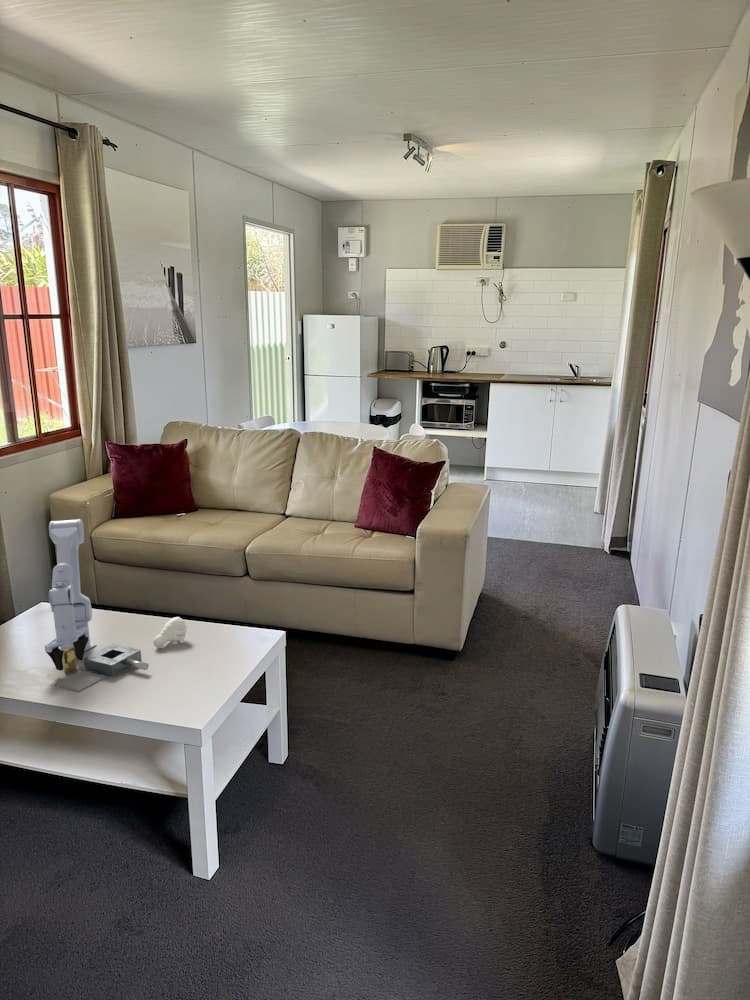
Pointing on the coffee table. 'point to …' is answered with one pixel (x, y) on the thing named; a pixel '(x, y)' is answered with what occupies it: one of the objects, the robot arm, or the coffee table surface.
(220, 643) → the coffee table surface
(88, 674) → the rubber mat
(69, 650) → the gold metal cylinder
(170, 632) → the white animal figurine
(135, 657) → the chuck block
